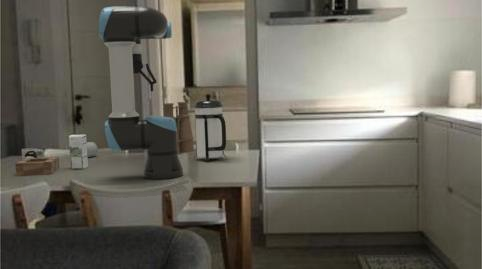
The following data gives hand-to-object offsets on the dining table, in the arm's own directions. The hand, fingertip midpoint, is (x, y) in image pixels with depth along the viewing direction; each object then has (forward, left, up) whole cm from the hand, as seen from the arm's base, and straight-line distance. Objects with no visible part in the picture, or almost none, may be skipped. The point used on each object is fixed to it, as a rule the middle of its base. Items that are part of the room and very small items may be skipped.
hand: (135, 99), depth 254 cm
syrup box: (-21, +24, -28) cm, 42 cm away
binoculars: (+13, -18, -28) cm, 36 cm away
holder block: (-26, +40, -28) cm, 55 cm away
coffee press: (-16, -34, -28) cm, 47 cm away
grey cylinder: (+11, +27, -28) cm, 40 cm away
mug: (+1, +49, -28) cm, 56 cm away
